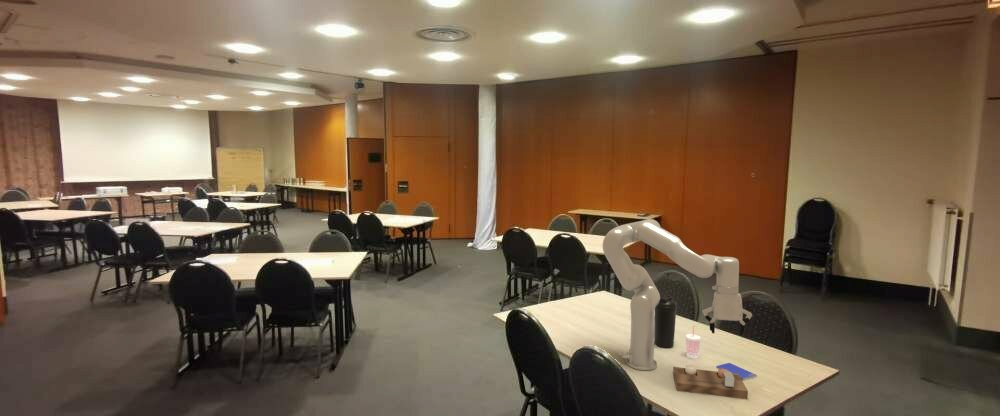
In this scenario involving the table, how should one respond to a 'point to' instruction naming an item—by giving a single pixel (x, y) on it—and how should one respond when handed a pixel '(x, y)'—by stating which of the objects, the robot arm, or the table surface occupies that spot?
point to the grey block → (728, 379)
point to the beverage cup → (692, 345)
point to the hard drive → (737, 371)
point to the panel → (708, 383)
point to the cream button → (690, 370)
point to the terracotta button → (721, 372)
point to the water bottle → (665, 322)
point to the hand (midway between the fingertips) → (726, 333)
